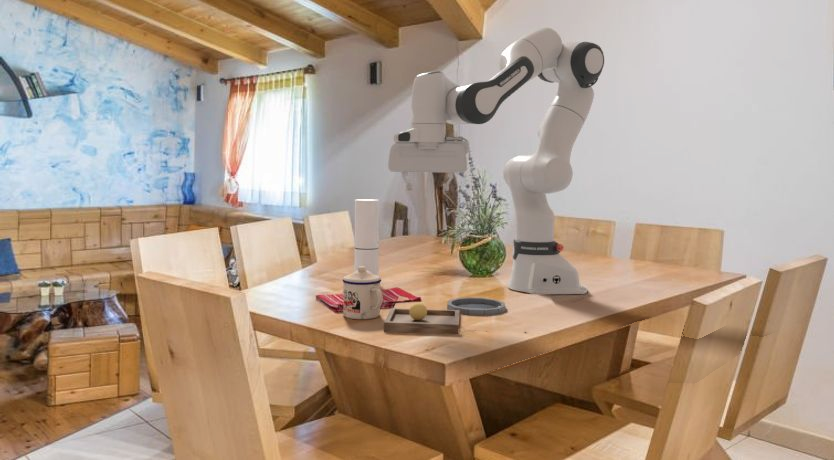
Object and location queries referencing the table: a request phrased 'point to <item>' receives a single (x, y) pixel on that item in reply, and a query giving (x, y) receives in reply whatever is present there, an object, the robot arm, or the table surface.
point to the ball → (418, 311)
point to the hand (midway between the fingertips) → (427, 190)
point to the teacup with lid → (362, 295)
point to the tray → (423, 321)
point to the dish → (476, 306)
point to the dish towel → (389, 301)
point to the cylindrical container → (366, 235)
